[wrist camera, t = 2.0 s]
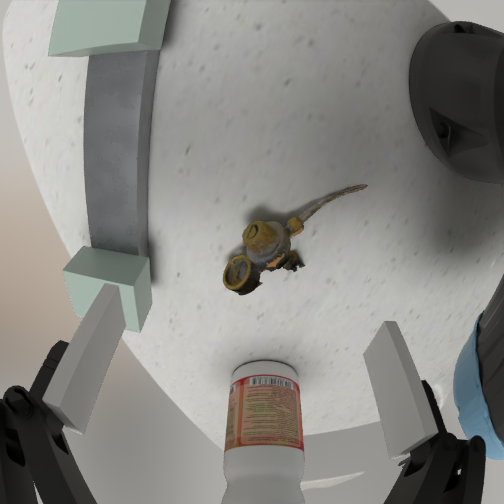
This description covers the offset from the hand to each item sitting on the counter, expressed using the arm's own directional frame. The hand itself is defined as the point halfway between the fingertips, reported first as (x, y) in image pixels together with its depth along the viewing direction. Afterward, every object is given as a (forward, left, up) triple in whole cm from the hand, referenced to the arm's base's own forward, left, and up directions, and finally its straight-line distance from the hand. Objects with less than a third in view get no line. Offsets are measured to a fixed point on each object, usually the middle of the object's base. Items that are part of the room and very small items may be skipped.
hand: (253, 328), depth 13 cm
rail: (+12, -4, -13) cm, 18 cm away
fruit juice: (-5, +24, -13) cm, 28 cm away
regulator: (-3, +1, -13) cm, 14 cm away
